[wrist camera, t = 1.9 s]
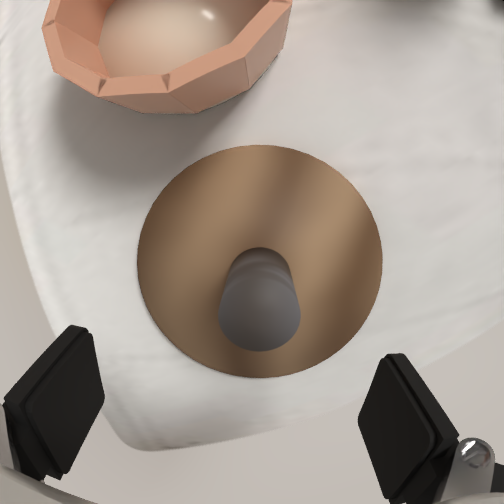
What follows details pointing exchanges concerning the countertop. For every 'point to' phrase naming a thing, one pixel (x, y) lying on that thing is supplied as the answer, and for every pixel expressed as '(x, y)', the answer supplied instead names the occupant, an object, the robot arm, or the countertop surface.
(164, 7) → the bowl
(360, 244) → the lid
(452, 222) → the countertop surface
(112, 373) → the countertop surface
